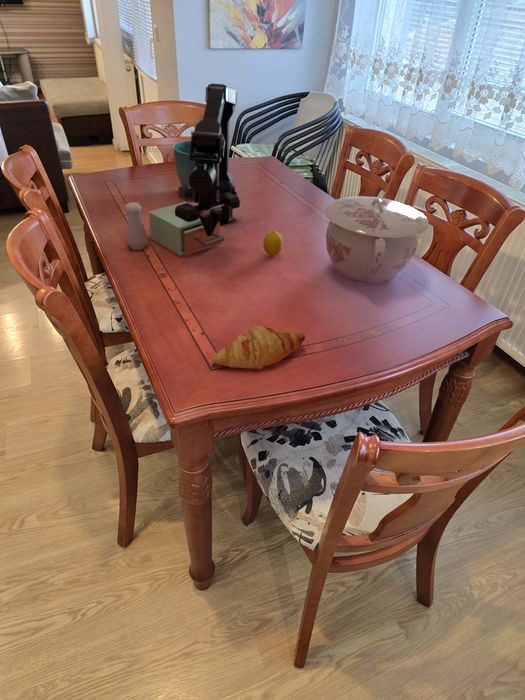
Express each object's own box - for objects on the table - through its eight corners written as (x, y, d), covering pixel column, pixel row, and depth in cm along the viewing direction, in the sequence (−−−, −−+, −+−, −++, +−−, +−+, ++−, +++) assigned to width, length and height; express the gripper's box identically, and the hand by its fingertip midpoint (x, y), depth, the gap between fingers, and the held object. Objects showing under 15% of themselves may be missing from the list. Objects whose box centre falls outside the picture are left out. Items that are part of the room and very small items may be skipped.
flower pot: (233, 194, 177) (234, 147, 166) (204, 207, 164) (203, 157, 154) (196, 183, 184) (194, 137, 173) (165, 195, 171) (161, 146, 161)
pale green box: (216, 243, 142) (216, 216, 137) (180, 256, 134) (178, 227, 129) (186, 227, 150) (185, 201, 145) (151, 239, 142) (148, 211, 137)
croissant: (217, 387, 96) (223, 372, 89) (202, 344, 100) (207, 327, 93) (306, 362, 104) (318, 347, 97) (290, 323, 107) (300, 306, 100)
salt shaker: (143, 252, 135) (138, 209, 127) (124, 250, 135) (118, 206, 127) (151, 244, 139) (146, 201, 131) (132, 241, 140) (127, 199, 132)
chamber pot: (354, 241, 149) (366, 175, 136) (430, 274, 134) (453, 204, 121) (295, 267, 133) (303, 195, 120) (375, 308, 118) (394, 230, 105)
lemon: (275, 262, 135) (277, 236, 130) (259, 256, 137) (260, 231, 132) (284, 255, 138) (287, 230, 133) (268, 250, 140) (270, 225, 136)
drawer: (231, 249, 137) (232, 228, 133) (198, 262, 130) (198, 239, 126) (191, 229, 147) (190, 208, 143) (159, 239, 140) (157, 217, 136)
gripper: (215, 166, 132) (215, 219, 142) (160, 178, 121) (164, 234, 131) (242, 176, 126) (240, 231, 136) (186, 190, 115) (189, 248, 125)
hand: (208, 235), depth 132 cm, fingers closed
